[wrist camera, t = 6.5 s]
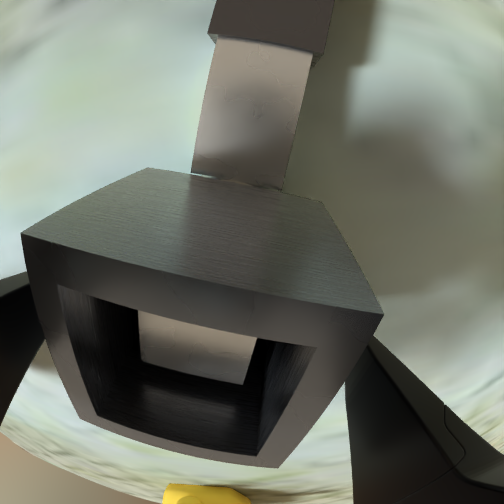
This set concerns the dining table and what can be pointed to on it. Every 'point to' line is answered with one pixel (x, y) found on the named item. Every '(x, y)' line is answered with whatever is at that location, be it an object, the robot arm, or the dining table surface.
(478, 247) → the dining table surface
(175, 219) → the open grey box
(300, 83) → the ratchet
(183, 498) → the teapot
